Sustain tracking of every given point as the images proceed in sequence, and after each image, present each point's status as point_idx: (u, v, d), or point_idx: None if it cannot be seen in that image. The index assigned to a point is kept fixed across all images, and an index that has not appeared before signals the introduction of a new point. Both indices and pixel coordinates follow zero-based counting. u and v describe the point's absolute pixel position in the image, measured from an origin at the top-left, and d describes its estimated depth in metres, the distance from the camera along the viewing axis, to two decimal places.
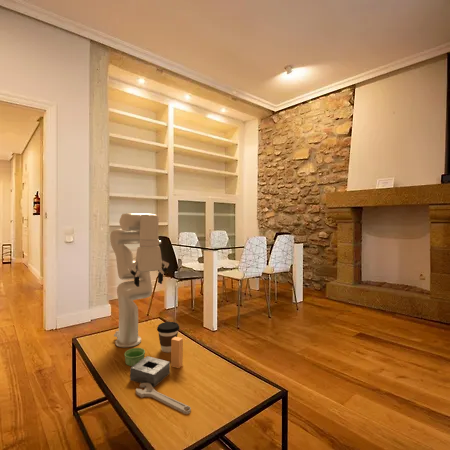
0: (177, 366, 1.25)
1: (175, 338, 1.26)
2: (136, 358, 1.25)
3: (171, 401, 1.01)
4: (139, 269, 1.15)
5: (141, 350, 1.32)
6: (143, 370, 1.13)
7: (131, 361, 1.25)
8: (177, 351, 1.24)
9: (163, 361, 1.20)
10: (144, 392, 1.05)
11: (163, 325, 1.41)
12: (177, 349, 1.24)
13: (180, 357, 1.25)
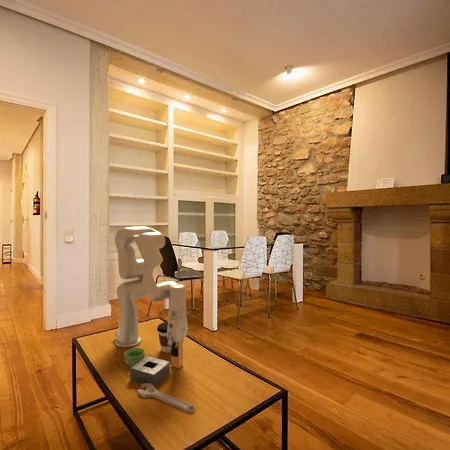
0: (177, 366, 1.25)
1: None
2: (136, 358, 1.25)
3: (174, 400, 1.01)
4: None
5: (141, 350, 1.32)
6: (143, 370, 1.13)
7: (131, 361, 1.25)
8: None
9: (163, 361, 1.20)
10: (146, 392, 1.05)
11: (163, 325, 1.41)
12: None
13: (180, 357, 1.25)
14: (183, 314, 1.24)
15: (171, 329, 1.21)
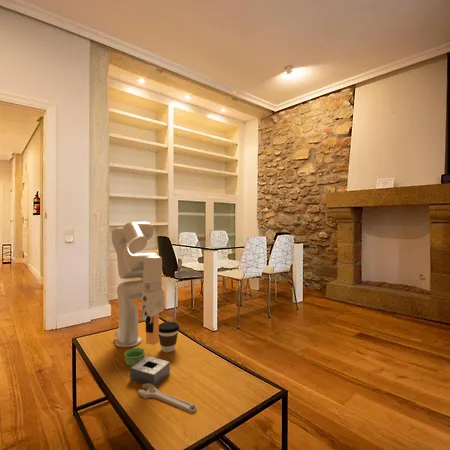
0: (153, 343, 1.15)
1: None
2: (136, 358, 1.25)
3: (176, 400, 1.01)
4: None
5: (141, 350, 1.32)
6: (143, 370, 1.13)
7: (131, 361, 1.25)
8: None
9: (163, 361, 1.20)
10: (147, 393, 1.05)
11: (163, 325, 1.41)
12: None
13: (156, 333, 1.16)
14: (158, 287, 1.14)
15: (145, 302, 1.12)
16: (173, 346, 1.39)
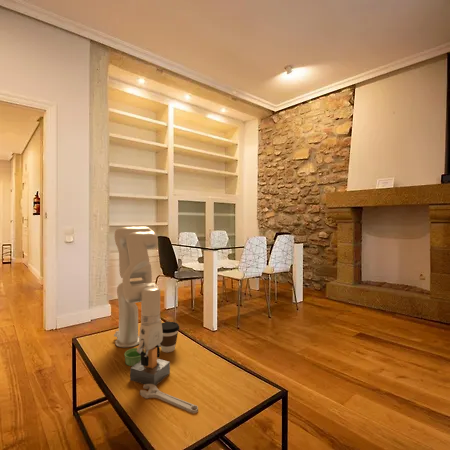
0: None
1: None
2: (136, 358, 1.25)
3: (177, 401, 1.01)
4: None
5: None
6: (143, 370, 1.13)
7: (131, 361, 1.25)
8: (150, 361, 1.15)
9: (163, 361, 1.20)
10: (149, 393, 1.05)
11: (163, 325, 1.41)
12: (150, 359, 1.15)
13: None
14: (157, 319, 1.14)
15: (143, 335, 1.12)
16: (173, 346, 1.39)
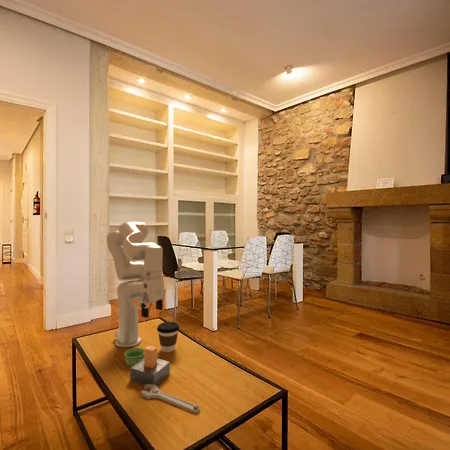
0: None
1: (149, 347, 1.17)
2: (136, 358, 1.25)
3: (179, 401, 1.01)
4: None
5: (141, 350, 1.32)
6: (143, 370, 1.13)
7: (131, 361, 1.25)
8: (150, 361, 1.15)
9: (163, 361, 1.20)
10: (150, 393, 1.05)
11: (163, 325, 1.41)
12: (150, 359, 1.15)
13: None
14: (158, 275, 1.21)
15: (145, 289, 1.19)
16: (173, 346, 1.39)
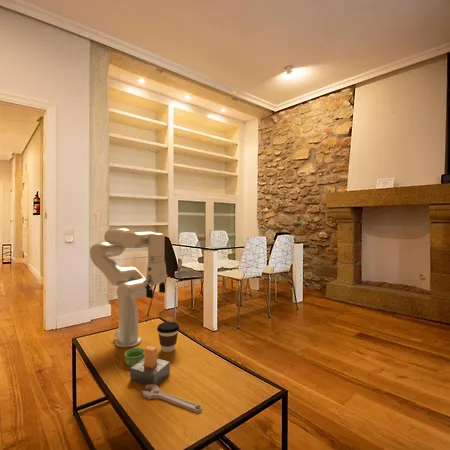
0: None
1: (149, 347, 1.17)
2: (136, 358, 1.25)
3: (180, 401, 1.01)
4: None
5: (141, 350, 1.32)
6: (143, 370, 1.13)
7: (131, 361, 1.25)
8: (150, 361, 1.15)
9: (163, 361, 1.20)
10: (151, 394, 1.04)
11: (163, 325, 1.41)
12: (150, 359, 1.15)
13: None
14: (161, 259, 1.33)
15: (150, 272, 1.31)
16: (173, 346, 1.39)
